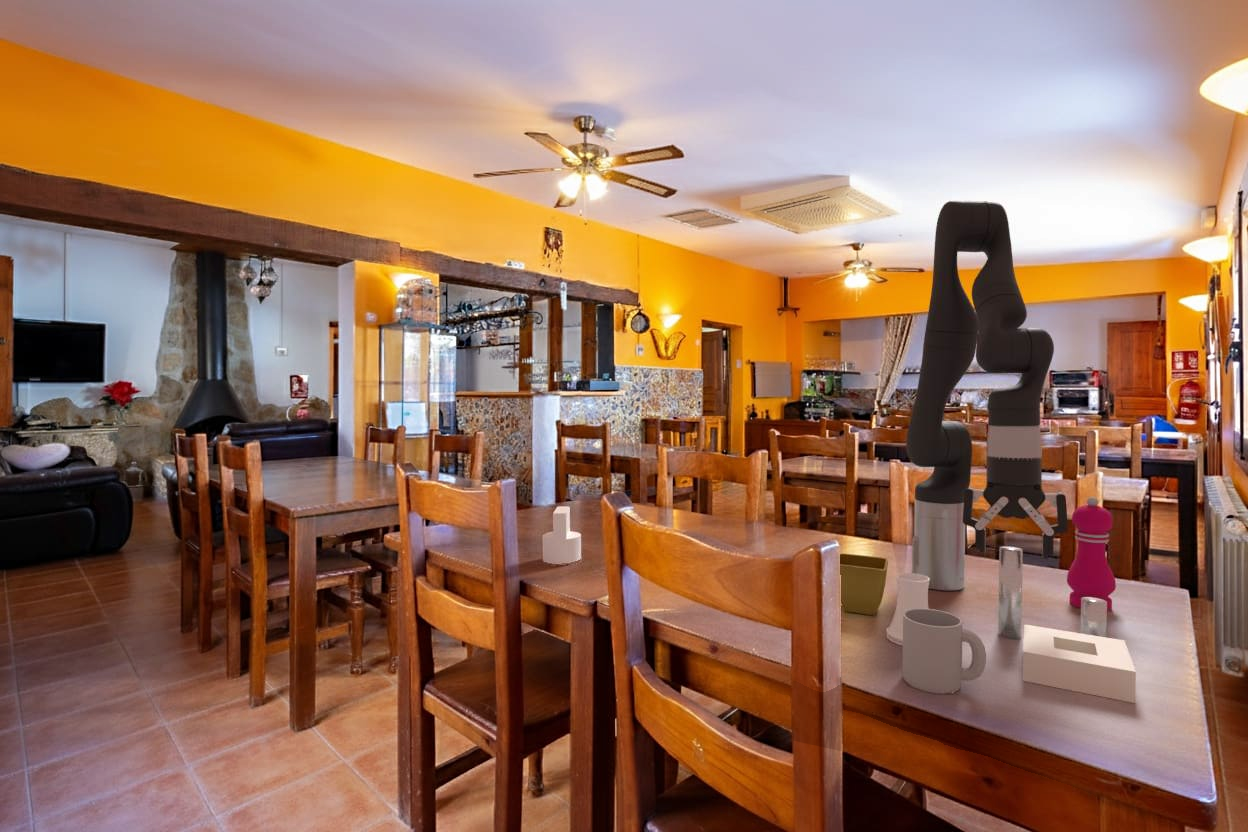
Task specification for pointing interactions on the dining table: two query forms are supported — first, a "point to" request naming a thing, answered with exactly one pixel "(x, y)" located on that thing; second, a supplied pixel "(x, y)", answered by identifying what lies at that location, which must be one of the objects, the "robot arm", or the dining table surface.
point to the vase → (907, 601)
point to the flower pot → (862, 582)
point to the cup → (938, 651)
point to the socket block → (1078, 663)
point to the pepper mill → (1091, 555)
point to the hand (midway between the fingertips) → (1013, 555)
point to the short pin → (1093, 616)
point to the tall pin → (1010, 592)
